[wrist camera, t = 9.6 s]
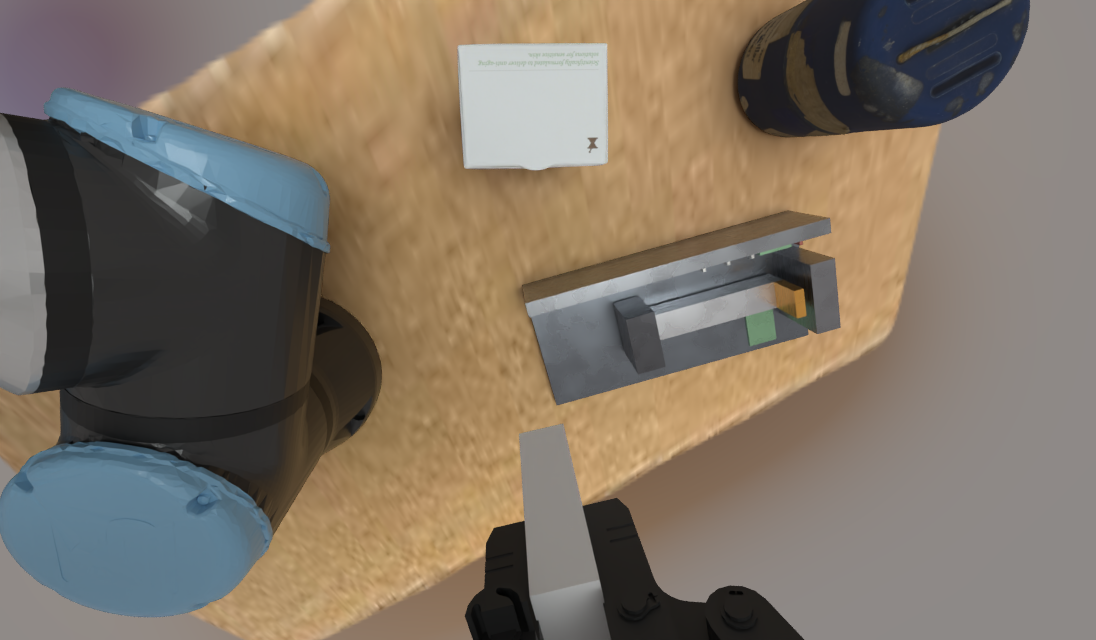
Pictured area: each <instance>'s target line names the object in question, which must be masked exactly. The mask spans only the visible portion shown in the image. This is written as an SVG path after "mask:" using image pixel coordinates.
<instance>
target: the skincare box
mask: <svg viewBox="0 0 1096 640" xmlns="http://www.w3.org/2000/svg"><path fill="white" fill-rule="evenodd" d="M458 79H459V98H460V116H461V132H462V148H463V161H464V167H465V168H466V169H529V170H542V169H546V168H552V167H573V166H597V165H603V164H606V163H607V162H608V89H607V44H606V43H542V44H471V45H459V46H458Z"/></svg>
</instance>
